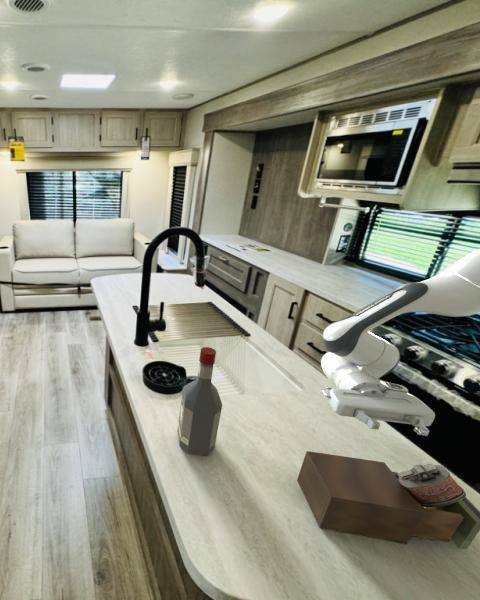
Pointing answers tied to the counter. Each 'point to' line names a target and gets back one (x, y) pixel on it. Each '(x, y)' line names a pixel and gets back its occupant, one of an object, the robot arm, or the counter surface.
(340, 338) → the robot arm
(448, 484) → the small labelled tin can
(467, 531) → the drawer
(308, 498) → the cabinet
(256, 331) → the counter surface
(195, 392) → the liquor
